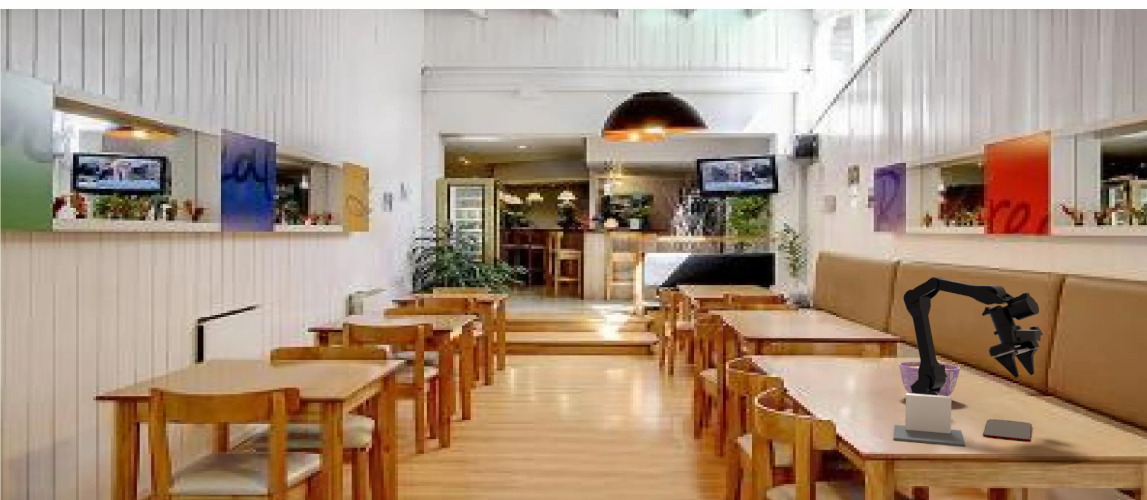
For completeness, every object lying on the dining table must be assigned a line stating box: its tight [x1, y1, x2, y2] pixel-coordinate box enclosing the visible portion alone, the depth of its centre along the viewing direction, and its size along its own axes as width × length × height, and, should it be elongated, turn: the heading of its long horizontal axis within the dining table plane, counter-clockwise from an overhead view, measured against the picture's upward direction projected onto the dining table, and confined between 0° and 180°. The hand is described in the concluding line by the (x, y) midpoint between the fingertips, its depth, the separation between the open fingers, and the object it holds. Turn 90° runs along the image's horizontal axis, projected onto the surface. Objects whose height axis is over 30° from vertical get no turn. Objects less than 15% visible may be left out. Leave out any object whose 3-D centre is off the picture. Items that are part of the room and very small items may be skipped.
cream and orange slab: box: [904, 392, 952, 433], centre depth 258 cm, size 3×12×10 cm, turn 70°
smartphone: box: [982, 418, 1033, 443], centre depth 262 cm, size 12×2×25 cm
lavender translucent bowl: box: [898, 361, 961, 396], centre depth 315 cm, size 20×20×12 cm
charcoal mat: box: [892, 424, 966, 447], centre depth 253 cm, size 19×18×1 cm
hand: (1024, 375), depth 265 cm, fingers open, 9 cm apart
